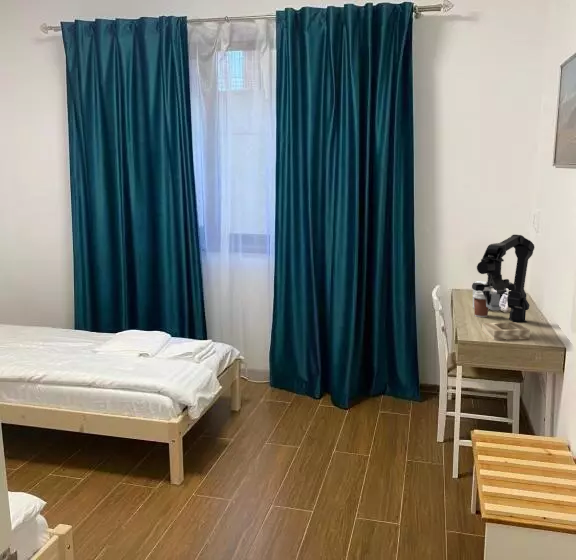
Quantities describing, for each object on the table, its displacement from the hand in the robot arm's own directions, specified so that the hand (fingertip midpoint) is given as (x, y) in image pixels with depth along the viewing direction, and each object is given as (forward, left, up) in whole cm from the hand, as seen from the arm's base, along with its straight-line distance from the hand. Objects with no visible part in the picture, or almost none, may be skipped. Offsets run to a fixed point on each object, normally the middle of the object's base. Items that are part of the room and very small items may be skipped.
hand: (492, 304), depth 286 cm
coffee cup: (-5, -25, -12) cm, 28 cm away
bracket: (0, 0, -2) cm, 2 cm away
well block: (-2, +12, -12) cm, 17 cm away
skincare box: (-11, -40, -12) cm, 43 cm away
